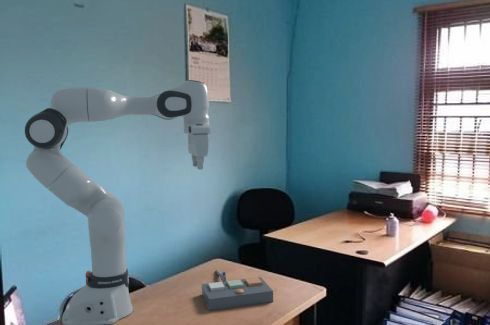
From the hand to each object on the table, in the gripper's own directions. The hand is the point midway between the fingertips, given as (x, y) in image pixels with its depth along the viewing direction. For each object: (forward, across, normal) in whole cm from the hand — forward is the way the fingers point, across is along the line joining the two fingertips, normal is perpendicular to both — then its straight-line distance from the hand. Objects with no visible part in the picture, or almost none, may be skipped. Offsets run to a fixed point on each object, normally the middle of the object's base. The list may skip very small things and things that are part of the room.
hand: (197, 167), depth 147 cm
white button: (+46, 0, +6) cm, 46 cm away
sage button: (+46, 0, +13) cm, 48 cm away
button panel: (+48, +2, +13) cm, 50 cm away
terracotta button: (+46, 0, +20) cm, 50 cm away
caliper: (+48, -18, +11) cm, 53 cm away
